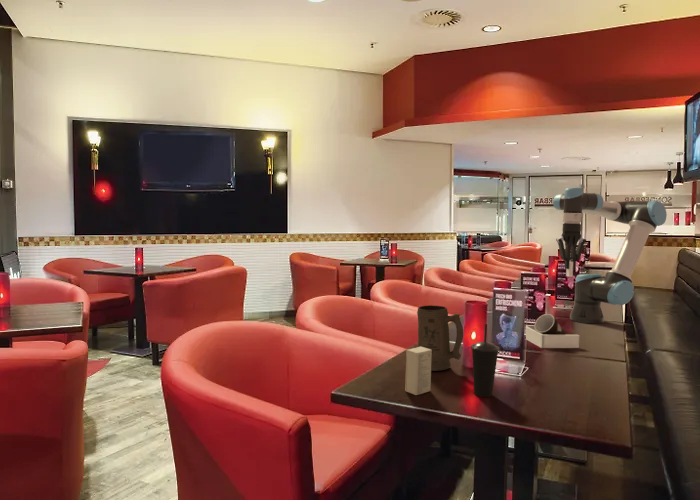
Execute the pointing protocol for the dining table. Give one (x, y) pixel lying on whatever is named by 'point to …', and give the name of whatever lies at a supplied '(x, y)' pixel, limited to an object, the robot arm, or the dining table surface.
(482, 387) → the drinking cup
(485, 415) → the dining table surface
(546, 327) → the dark brown mug
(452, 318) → the beer stein
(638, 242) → the robot arm
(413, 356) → the skincare box
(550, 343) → the cream u-shaped bracket
